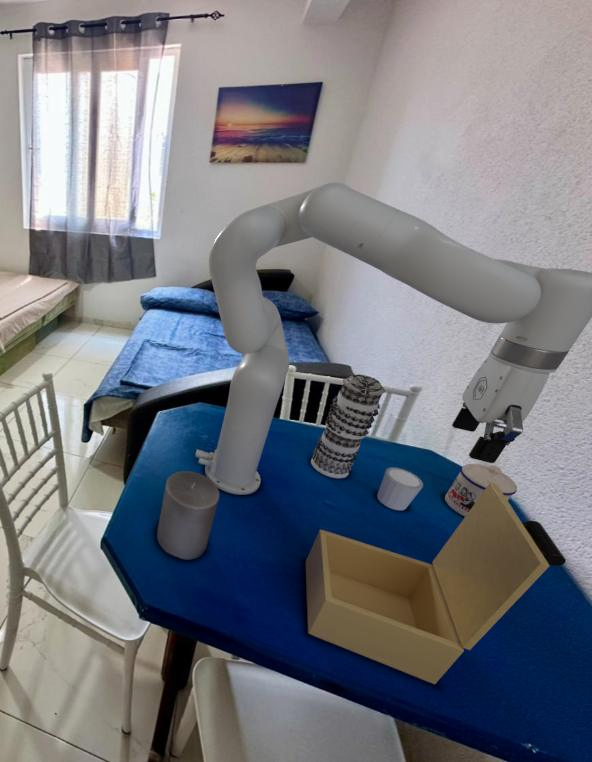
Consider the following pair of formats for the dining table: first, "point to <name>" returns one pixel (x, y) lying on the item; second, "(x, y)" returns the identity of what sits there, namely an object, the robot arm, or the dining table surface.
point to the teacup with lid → (476, 486)
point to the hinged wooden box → (380, 606)
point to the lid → (491, 564)
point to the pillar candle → (187, 514)
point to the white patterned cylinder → (347, 425)
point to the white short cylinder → (398, 488)
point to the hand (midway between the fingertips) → (471, 443)
